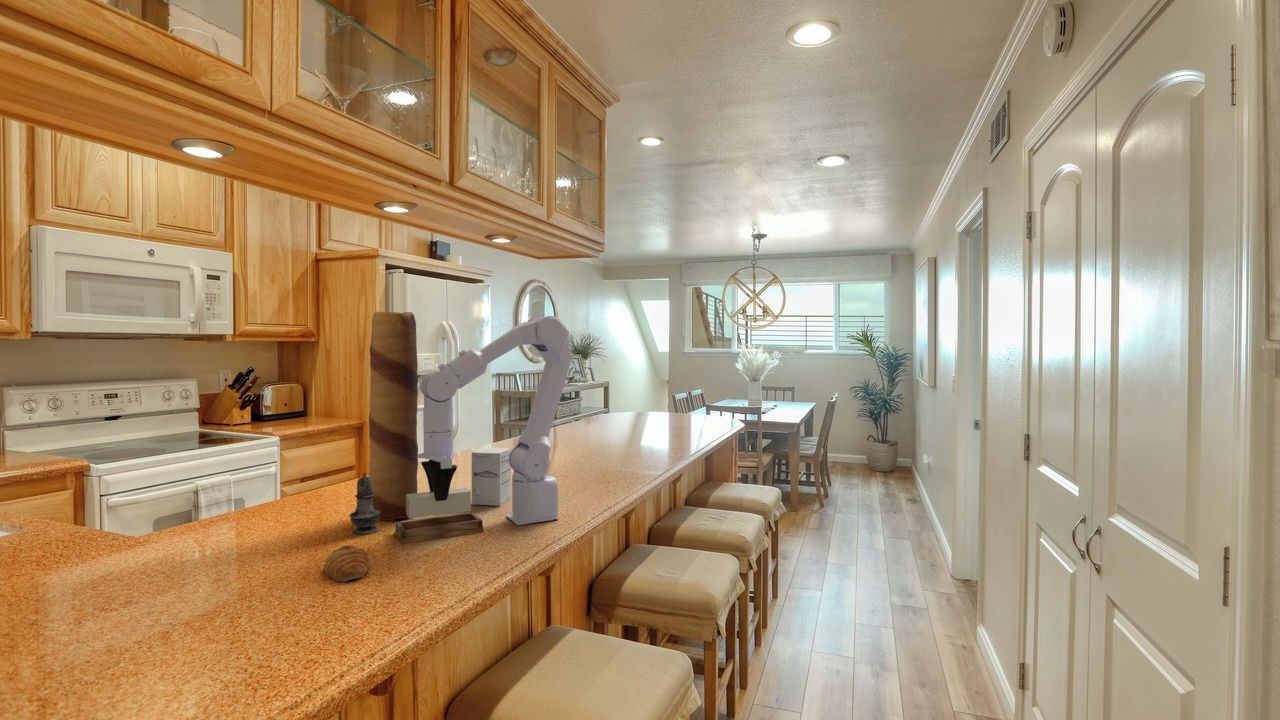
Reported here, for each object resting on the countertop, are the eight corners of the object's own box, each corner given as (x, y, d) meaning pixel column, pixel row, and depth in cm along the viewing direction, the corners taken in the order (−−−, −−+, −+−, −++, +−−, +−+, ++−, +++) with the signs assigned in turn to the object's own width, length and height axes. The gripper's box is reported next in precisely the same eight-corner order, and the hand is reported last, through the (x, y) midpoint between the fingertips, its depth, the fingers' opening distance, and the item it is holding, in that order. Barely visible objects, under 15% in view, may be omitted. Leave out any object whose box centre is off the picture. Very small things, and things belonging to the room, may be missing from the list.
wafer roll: (426, 509, 144) (424, 312, 143) (409, 522, 134) (407, 310, 132) (380, 509, 144) (378, 312, 143) (360, 522, 134) (357, 310, 132)
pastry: (376, 578, 103) (375, 555, 103) (330, 588, 99) (330, 564, 99) (364, 562, 111) (364, 540, 111) (322, 570, 107) (321, 548, 107)
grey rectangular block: (466, 506, 131) (466, 487, 131) (470, 510, 128) (470, 491, 128) (405, 514, 125) (405, 494, 125) (409, 518, 122) (408, 498, 122)
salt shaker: (386, 527, 130) (385, 469, 130) (371, 536, 124) (370, 476, 124) (359, 526, 131) (358, 469, 130) (343, 535, 125) (342, 475, 125)
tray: (472, 521, 134) (472, 511, 134) (483, 531, 128) (483, 520, 127) (395, 532, 127) (395, 521, 127) (401, 543, 120) (401, 532, 120)
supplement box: (470, 505, 148) (470, 451, 147) (483, 497, 155) (483, 446, 155) (500, 506, 146) (500, 452, 146) (512, 498, 154) (511, 447, 153)
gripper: (411, 427, 131) (411, 492, 131) (424, 437, 118) (425, 508, 119) (445, 425, 134) (446, 488, 135) (462, 434, 122) (463, 504, 122)
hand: (439, 497), depth 127 cm, fingers closed on grey rectangular block, 3 cm apart
